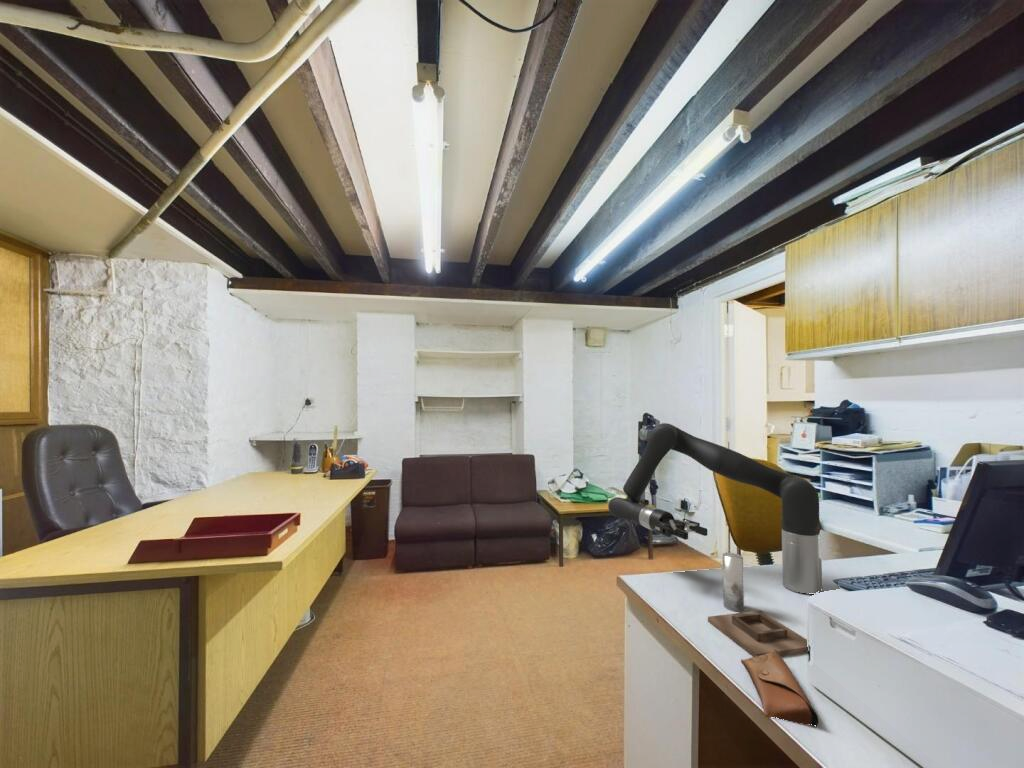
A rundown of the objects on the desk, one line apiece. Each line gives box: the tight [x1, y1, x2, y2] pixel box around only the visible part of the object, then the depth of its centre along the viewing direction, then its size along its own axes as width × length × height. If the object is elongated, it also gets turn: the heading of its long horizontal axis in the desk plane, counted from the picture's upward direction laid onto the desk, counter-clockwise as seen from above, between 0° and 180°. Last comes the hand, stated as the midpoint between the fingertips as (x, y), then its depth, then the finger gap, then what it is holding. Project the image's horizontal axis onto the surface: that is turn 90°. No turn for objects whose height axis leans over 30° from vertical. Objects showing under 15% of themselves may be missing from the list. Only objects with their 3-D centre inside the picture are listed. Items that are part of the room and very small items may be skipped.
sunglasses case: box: [740, 649, 820, 727], centre depth 80 cm, size 18×7×7 cm
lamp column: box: [722, 552, 745, 613], centre depth 113 cm, size 5×5×14 cm
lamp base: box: [707, 610, 808, 657], centre depth 99 cm, size 16×16×3 cm
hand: (697, 534), depth 123 cm, fingers open, 8 cm apart
